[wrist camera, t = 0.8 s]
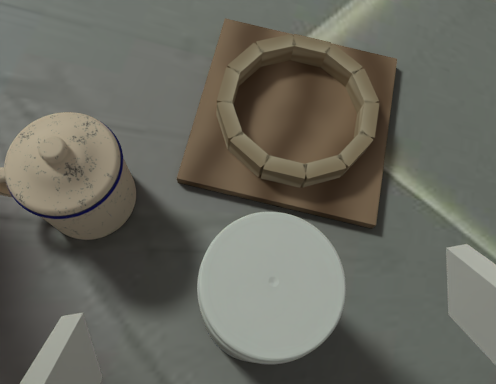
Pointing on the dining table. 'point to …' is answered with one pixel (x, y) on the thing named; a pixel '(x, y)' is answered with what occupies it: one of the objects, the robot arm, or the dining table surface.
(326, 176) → the ring holder
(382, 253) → the dining table surface
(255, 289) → the supplement tub
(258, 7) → the dining table surface
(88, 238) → the teacup with lid
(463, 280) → the robot arm
